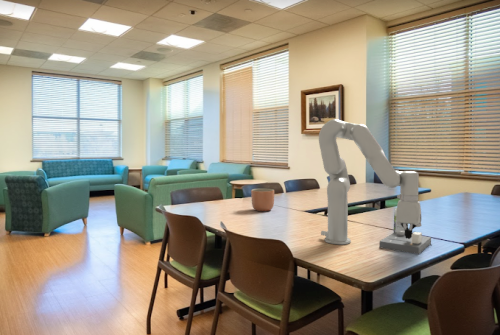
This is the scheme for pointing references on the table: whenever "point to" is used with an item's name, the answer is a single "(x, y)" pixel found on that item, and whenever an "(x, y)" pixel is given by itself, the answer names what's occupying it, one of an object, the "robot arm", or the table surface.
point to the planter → (262, 199)
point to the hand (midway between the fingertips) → (408, 237)
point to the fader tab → (416, 237)
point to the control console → (404, 243)
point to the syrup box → (397, 226)
